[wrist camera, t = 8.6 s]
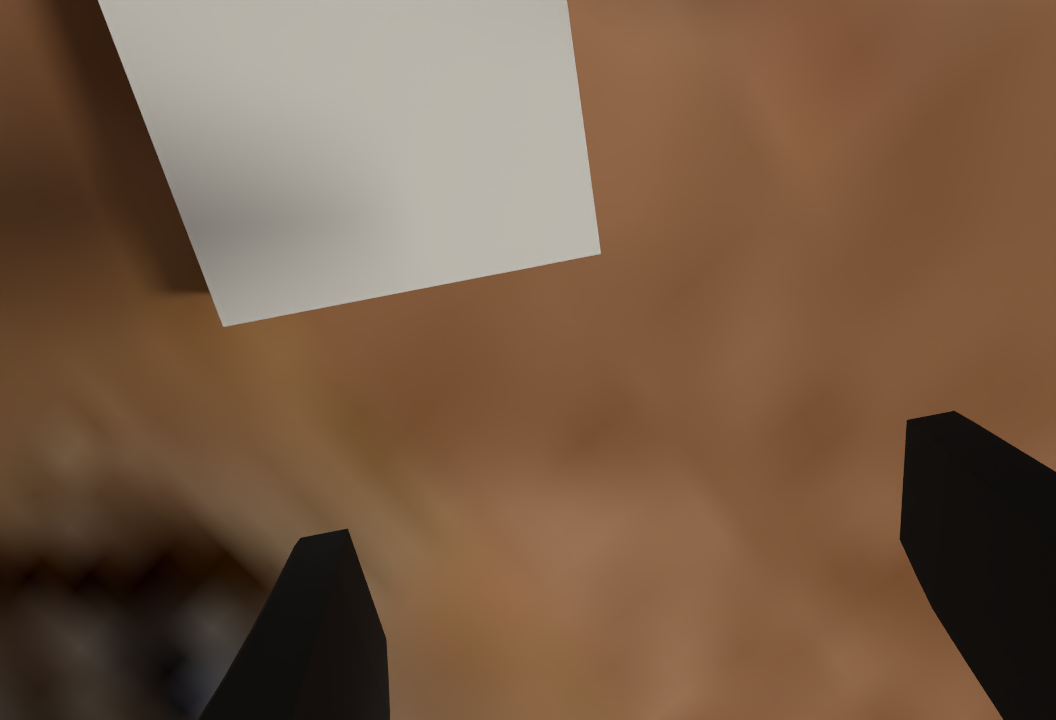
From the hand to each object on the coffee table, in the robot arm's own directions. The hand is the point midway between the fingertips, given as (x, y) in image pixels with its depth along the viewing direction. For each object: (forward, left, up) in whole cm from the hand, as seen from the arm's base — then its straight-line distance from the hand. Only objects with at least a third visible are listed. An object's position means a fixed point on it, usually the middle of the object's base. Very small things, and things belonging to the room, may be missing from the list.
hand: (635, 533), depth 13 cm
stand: (+3, -4, -10) cm, 11 cm away
